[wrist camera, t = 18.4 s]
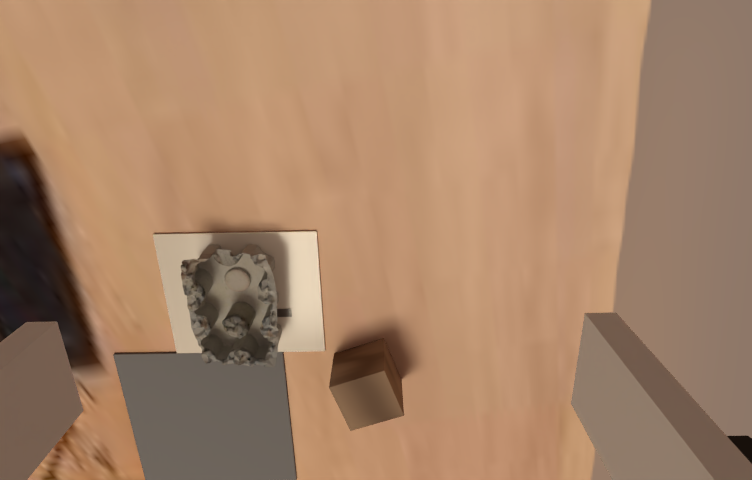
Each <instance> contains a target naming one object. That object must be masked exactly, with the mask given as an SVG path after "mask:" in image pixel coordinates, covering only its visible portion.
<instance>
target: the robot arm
mask: <svg viewBox="0 0 752 480" xmlns="http://www.w3.org/2000/svg"><path fill="white" fill-rule="evenodd" d="M571 404H572V406H573V408H574V410H575V412H576V414H577V416H578V417H579V419H580V421H581V423H582V425H583V427H584V428H585V430H586V432H587V434H588V436H589V438H590V440H591V441H592V443H593V445H594V447H595V449H596V451H597V453H598V454H599V456H600V458H601V460H602V462H603V463H604V465H605V467H606V469H607V471H608V473H609V475H610V477H611V478H612V480H752V438H750V437H749V436H726V435H725V434H724V432H723V431H722V430H721V429H720V428H719V427H718V426H717V425H716V423H715V422H714V421H713V420H712V419H711V418H710V417H709V416H708V415H707V414H706V412H705V411H704V410H703V409H702V408H701V407H700V406H699V404H698V403H697V402H696V401H695V400H694V399H693V398H692V397H691V396H690V394H689V393H688V392H687V391H686V390H685V389H684V388H683V387H682V386H681V384H680V383H679V382H678V381H677V380H676V379H675V378H674V377H673V375H672V374H671V373H670V372H669V371H668V370H667V369H666V368H665V367H664V366H663V364H662V363H661V362H660V361H659V360H658V359H657V358H656V357H655V355H654V354H653V353H652V352H651V351H650V350H649V349H648V348H647V347H646V345H645V344H644V343H643V342H642V341H641V340H640V339H639V338H638V336H637V335H636V334H635V333H634V332H633V331H632V330H631V329H630V327H629V326H628V325H627V324H626V323H625V322H624V321H623V320H622V319H621V317H620V316H619V315H618V314H617V313H585V316H584V322H583V329H582V335H581V342H580V348H579V355H578V361H577V368H576V374H575V381H574V388H573V394H572V401H571ZM82 412H83V407H82V404H81V401H80V397H79V394H78V391H77V387H76V384H75V381H74V377H73V374H72V371H71V367H70V364H69V361H68V357H67V354H66V350H65V347H64V344H63V340H62V337H61V334H60V330H59V327H58V324H57V322H26V323H25V324H24V325H22V326H21V327H20V328H19V329H17V330H16V331H15V332H13V333H12V334H11V335H10V336H8V337H7V338H6V339H4V340H3V341H2V342H1V343H0V480H27V479H28V478H29V477H30V475H31V474H32V473H33V472H34V470H35V469H36V468H37V467H38V466H39V464H40V463H41V462H42V461H43V459H44V458H45V457H46V456H47V454H48V453H49V452H50V451H51V450H52V448H53V447H54V446H55V445H56V443H57V442H58V441H59V440H60V439H61V437H62V436H63V435H64V434H65V432H66V431H67V430H68V429H69V427H70V426H71V425H72V424H73V423H74V421H75V420H76V419H77V418H78V416H79V415H80V414H81V413H82Z"/></svg>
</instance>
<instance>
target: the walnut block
mask: <svg viewBox="0 0 752 480" xmlns="http://www.w3.org/2000/svg"><path fill="white" fill-rule="evenodd" d="M329 388H330V390H331V392H332V394H333V396H334V398H335V400H336V402H337V404H338V406H339V408H340V410H341V412H342V414H343V417H344V419H345V421H346V423H347V425H348V427H349V429H350V431H352V430H355V429H359V428H362V427H366V426H369V425H373V424H376V423H380V422H383V421H387V420H390V419H393V418H397V417H400V416H404V410H403V395H402V380H401V378H400V375H399V373H398V370H397V368H396V366H395V363H394V361H393V359H392V356H391V354H390V352H389V349H388V347H387V345H386V342H385V340H384V338H383V339H380V340H377V341H374V342H370V343H367V344H364V345H361V346H358V347H354V348H351V349H348V350H345V351H342V352H339V353H335V354H334V358H333V365H332V372H331V379H330V385H329Z"/></svg>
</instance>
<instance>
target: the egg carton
mask: <svg viewBox="0 0 752 480" xmlns="http://www.w3.org/2000/svg"><path fill="white" fill-rule="evenodd" d="M274 268H275V260H274V257H272V256H269V255H268V254H266V253H264V252H263V251H262V250H261V248H260V247H259V246H258V245H253V244H248V245H247V246H246V247H245V249H244V250H243V252H242V253H241V254H237V255H236V256H233V254H232V252H231V250H223V249H222V248H221V246H220V245H218V244H217V245H214V244H210V245H208V246H207V247H206V249H205V250H204V251H203V252H202V254H201V255H200V257H199V258H198V259H191V260H183V261H182V265H181V271H182V272H181V279H182V284H183V290H184V294H185V295H187V306H188V310H189V313H190V319H191V328H192V330H193V333H194V335H195V338H196V339H197V341H198V345H199V346H200V347H201V349H202V354H201V356H202V359H203V361H204V362H205V363H211V362H213V361H217V362H221V363H222V365H228V364H236V365H238V366H239V365H246V366H250V367H252V366H255V365H262V366H265V367H275V364H276V359H277V352H278V343H279V340H280V338H281V334H282V328H281V325H280V324H277V303H278V301H279V296H278V292H277V291H276V287H275V281H274V276H273V273H272V272H273V270H274Z"/></svg>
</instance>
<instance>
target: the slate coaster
mask: <svg viewBox="0 0 752 480" xmlns="http://www.w3.org/2000/svg"><path fill="white" fill-rule="evenodd" d="M201 354H202V353H178V354H177V353H115V354H114V359H115V363H116V367H117V371H118V375H119V379H120V383H121V386H122V390H123V394H124V398H125V402H126V406H127V410H128V414H129V418H130V421H131V425H132V429H133V433H134V437H135V441H136V445H137V449H138V452H139V456H140V460H141V464H142V468H143V472H144V476H145V480H296V479H297V478H296V469H295V459H294V450H293V441H292V432H291V422H290V413H289V404H288V394H287V385H286V376H285V366H284V357H283V352H277V359H276V364H275V367H265V366H262V365H255V366H252V367H250V366H246V365H239V366H238V365H236V364H228V365H222V363H221V362H217V361H213V362H211V363H205V362H204V361H203V359H202V356H201Z"/></svg>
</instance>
